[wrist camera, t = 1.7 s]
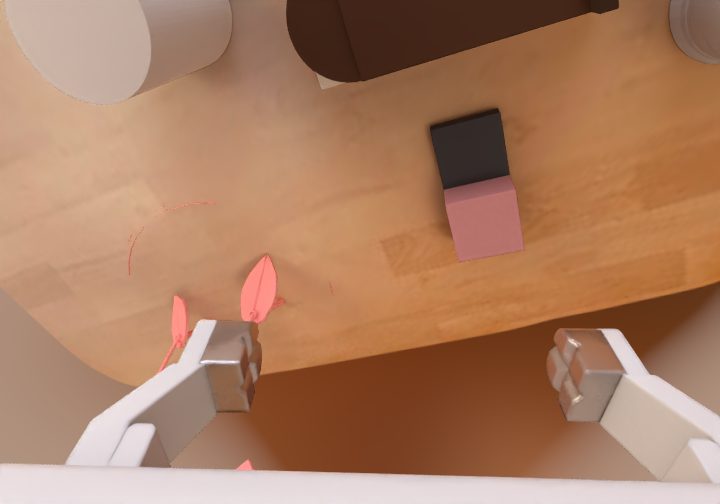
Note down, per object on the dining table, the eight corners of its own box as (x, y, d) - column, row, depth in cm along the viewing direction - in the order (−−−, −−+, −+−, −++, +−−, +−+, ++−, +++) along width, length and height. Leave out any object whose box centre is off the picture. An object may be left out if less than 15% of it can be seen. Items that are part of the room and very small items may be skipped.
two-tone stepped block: (429, 126, 37) (430, 142, 33) (498, 107, 35) (506, 122, 32) (456, 240, 42) (458, 264, 38) (516, 228, 40) (525, 252, 37)
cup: (193, -74, 31) (82, -98, 21) (251, 43, 35) (180, 72, 25) (107, -21, 34) (-29, -18, 24) (170, 84, 37) (74, 125, 27)
